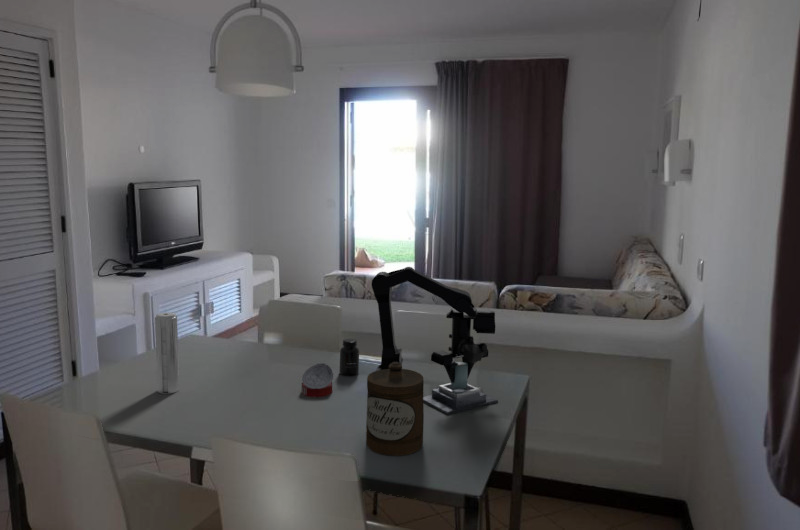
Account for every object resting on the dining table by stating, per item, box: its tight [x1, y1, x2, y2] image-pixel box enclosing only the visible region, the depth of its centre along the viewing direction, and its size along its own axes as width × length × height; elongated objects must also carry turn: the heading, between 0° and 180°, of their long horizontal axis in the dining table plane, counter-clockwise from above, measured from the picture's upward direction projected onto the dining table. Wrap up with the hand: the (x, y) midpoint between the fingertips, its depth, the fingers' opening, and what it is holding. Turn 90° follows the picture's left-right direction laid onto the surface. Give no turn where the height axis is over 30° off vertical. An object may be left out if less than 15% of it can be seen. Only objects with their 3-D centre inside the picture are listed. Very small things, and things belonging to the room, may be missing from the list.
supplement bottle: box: [338, 338, 360, 377], centre depth 214 cm, size 7×7×12 cm
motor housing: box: [423, 382, 499, 416], centre depth 190 cm, size 20×14×4 cm
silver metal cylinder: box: [154, 312, 180, 395], centre depth 193 cm, size 6×6×25 cm
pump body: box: [450, 361, 469, 389], centre depth 190 cm, size 5×5×7 cm
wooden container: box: [365, 362, 425, 457], centre depth 158 cm, size 15×15×22 cm
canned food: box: [301, 362, 334, 398], centre depth 196 cm, size 11×10×10 cm
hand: (459, 381), depth 190 cm, fingers closed on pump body, 5 cm apart
